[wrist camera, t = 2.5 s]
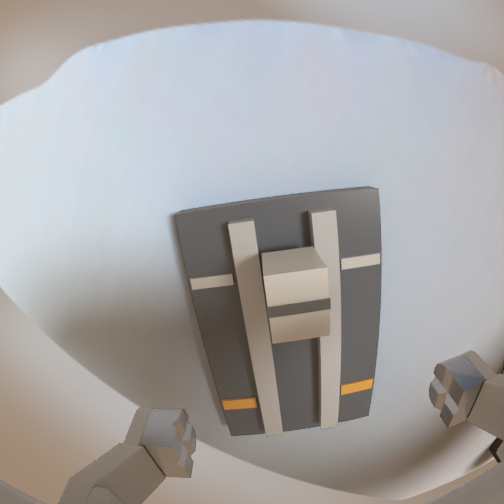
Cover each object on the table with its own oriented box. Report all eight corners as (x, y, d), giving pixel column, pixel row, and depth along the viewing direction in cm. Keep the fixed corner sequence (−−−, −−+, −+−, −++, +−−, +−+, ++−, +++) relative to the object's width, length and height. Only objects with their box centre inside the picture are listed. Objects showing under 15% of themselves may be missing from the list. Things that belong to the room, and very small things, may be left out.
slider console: (368, 186, 20) (385, 189, 17) (363, 403, 26) (371, 423, 23) (181, 210, 21) (169, 217, 18) (232, 422, 27) (230, 444, 24)
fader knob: (309, 241, 19) (328, 267, 14) (313, 295, 20) (331, 335, 15) (260, 247, 19) (262, 277, 14) (267, 302, 21) (271, 345, 15)
